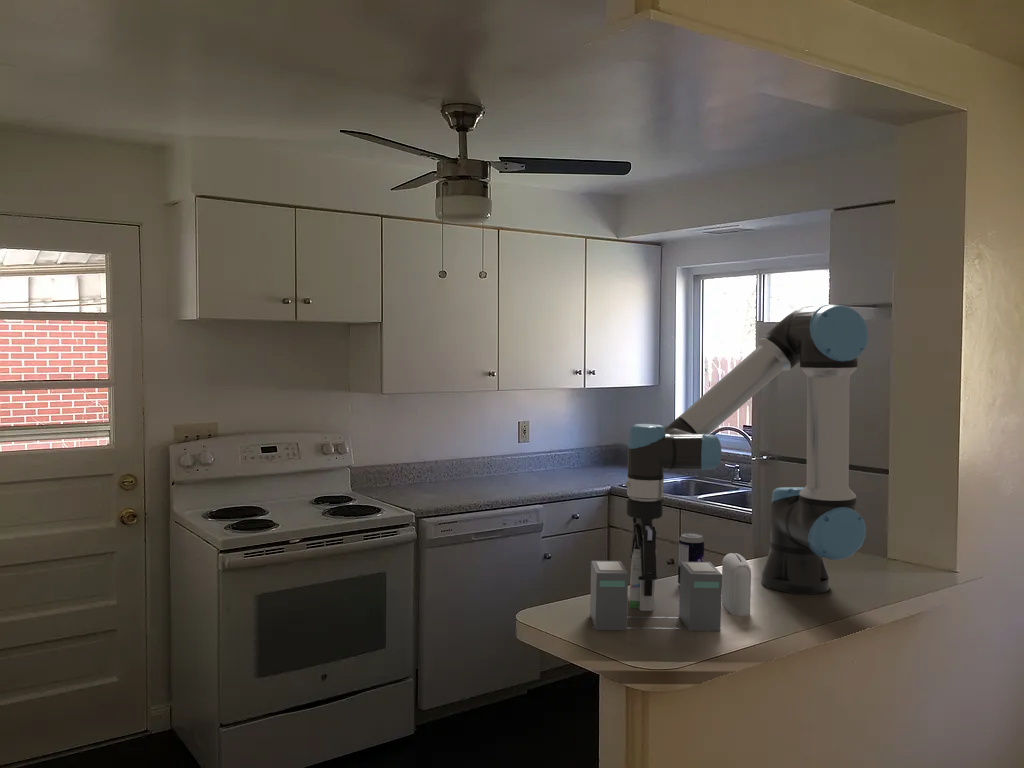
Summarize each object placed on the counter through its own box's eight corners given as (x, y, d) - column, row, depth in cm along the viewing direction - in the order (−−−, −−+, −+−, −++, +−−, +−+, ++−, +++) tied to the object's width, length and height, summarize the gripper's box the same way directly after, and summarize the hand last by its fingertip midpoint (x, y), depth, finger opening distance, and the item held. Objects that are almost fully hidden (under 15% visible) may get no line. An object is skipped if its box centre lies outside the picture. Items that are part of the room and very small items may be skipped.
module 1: (619, 614, 172) (621, 560, 172) (626, 630, 163) (628, 572, 162) (590, 614, 172) (591, 559, 172) (595, 630, 163) (596, 572, 162)
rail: (711, 622, 172) (711, 616, 172) (722, 636, 164) (722, 630, 164) (587, 621, 172) (587, 615, 172) (592, 635, 164) (592, 628, 164)
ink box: (630, 601, 186) (632, 547, 185) (655, 602, 185) (656, 548, 184) (628, 613, 177) (629, 557, 177) (653, 615, 176) (655, 558, 176)
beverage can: (698, 591, 193) (700, 539, 193) (674, 587, 196) (675, 535, 196) (706, 585, 198) (707, 534, 198) (682, 581, 201) (683, 531, 200)
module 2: (708, 615, 173) (710, 561, 172) (720, 631, 163) (722, 573, 163) (679, 615, 173) (680, 560, 172) (689, 631, 163) (691, 573, 163)
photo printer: (718, 605, 184) (720, 548, 183) (738, 605, 184) (740, 549, 183) (731, 621, 173) (733, 561, 173) (752, 621, 173) (754, 561, 173)
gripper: (619, 488, 191) (616, 586, 192) (635, 508, 168) (633, 619, 170) (652, 488, 191) (650, 587, 192) (673, 508, 169) (670, 619, 170)
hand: (642, 602), depth 181 cm, fingers open, 10 cm apart
